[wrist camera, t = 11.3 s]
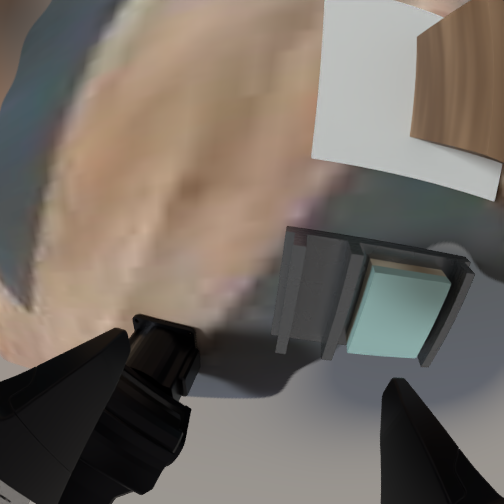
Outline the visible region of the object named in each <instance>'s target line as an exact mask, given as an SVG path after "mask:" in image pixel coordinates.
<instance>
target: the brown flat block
mask: <svg viewBox="0 0 504 504" xmlns="http://www.w3.org/2000/svg"><path fill="white" fill-rule="evenodd" d="M410 137H413V138H416V139H420V140H423V141H427V142H430V143H434V144H437V145H441V146H445V147H449V148H453V149H456V150H460V151H464V152H467V153H471V154H474V155H477V156H480V157H484V158H487V159H490V160H493V161H496V162H499V163H502V164H504V1H503V0H471V1H469V2H467V3H466V4H464V5H463V6H461V7H460V8H458V9H456V10H455V11H453V12H452V13H450V14H449V15H447V16H446V17H444V18H443V19H441V20H440V21H438V22H437V23H436V24H434V25H433V26H431V27H430V28H428V29H427V30H426V31H424V32H423V33H421V34H420V35H419V36H417V54H416V77H415V91H414V102H413V112H412V121H411V129H410Z"/></svg>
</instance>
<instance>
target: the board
mask: <svg viewBox="0 0 504 504" xmlns="http://www.w3.org/2000/svg"><path fill="white" fill-rule="evenodd" d="M443 18H444V17H441V16H439V15H436V14H434V13H431V12H428V11H425V10H423V9H420V8H417V7H414V6H411V5H408V4H404V3H401V2H398V1H394V0H324V21H323V37H322V52H321V65H320V77H319V88H318V99H317V109H316V119H315V128H314V137H313V146H312V154H311V158H313V159H319V160H326V161H332V162H338V163H344V164H349V165H355V166H360V167H365V168H370V169H375V170H380V171H385V172H389V173H394V174H398V175H402V176H407V177H411V178H415V179H419V180H423V181H427V182H431V183H434V184H438V185H442V186H445V187H449V188H452V189H456V190H459V191H463V192H466V193H469V194H472V195H476V196H479V197H482V198H485V199H488V200H491V201H495V197H496V193H497V188H498V183H499V179H500V174H501V168H502V163H499V162H496V161H493V160H490V159H487V158H484V157H480V156H477V155H474V154H471V153H467V152H464V151H460V150H456V149H453V148H449V147H445V146H441V145H437V144H434V143H430V142H427V141H423V140H420V139H416V138H413V137H410V129H411V121H412V112H413V102H414V91H415V77H416V54H417V36H419V35H420V34H421V33H423V32H424V31H426V30H427V29H428V28H430V27H431V26H433V25H434V24H436V23H437V22H438V21H440V20H441V19H443Z"/></svg>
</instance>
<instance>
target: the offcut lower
mask: <svg viewBox="0 0 504 504" xmlns="http://www.w3.org/2000/svg"><path fill="white" fill-rule="evenodd" d="M372 265H375V266H382V267H388V268H394V269H401V270H407V271H414V272H420V273H426V274H432V275H439V276H445V277H446V275H445V274H444V273H443V271H442V270H438V269H432V268H426V267H420V266H414V265H408V264H402V263H396V262H390V261H383V260H377V259H371V258H370V259H369V263H368V267H367V270H366V274H365V277H364V281H363V284H362V287H361V291H360V294H359V297H358V300H357V304H356V307H355V310H354V313H353V316H352V319H351V322H350V325H349V328H348V331H347V333H346V344H347V341H348V339H349V336H350V333H351V330H352V328H353V325H354V322H355V319H356V316H357V313H358V310H359V307H360V304H361V301H362V298H363V295H364V291H365V288H366V285H367V282H368V278H369V275H370V271H371V268H372Z"/></svg>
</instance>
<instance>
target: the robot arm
mask: <svg viewBox="0 0 504 504" xmlns="http://www.w3.org/2000/svg"><path fill="white" fill-rule="evenodd" d="M133 324H134V329H135V331H134V333H133V334H132V335H131V337H130V338H128V334H127V332H126V330H123V329H120V328H113V329H111V330H109V331H107V332H105V333H103V334H101V335H99V336H97V337H95V338H93V339H91V340H89V341H87V342H85V343H83V344H81V345H79V346H77V347H75V348H73V349H71V350H69V351H67V352H65V353H62V354H60V355H58V356H56V357H54V358H52V359H50V360H48V361H46V362H44V363H42V364H40V365H38V366H37V367H34V368H32V369H30V370H28V371H26V372H23V373H21V374H19V375H16V376H14V377H11V378H9V379H6V380H4V381H1V382H0V504H28V503H29V502H30V500H31V501H32V502H34V503H36V504H112V503H113V501H114V500H115V499H116V498H117V497H120V496H123V495H125V494H128V493H131V492H133V491H134V492H136V493H138V494H139V495H143V494H145V493H146V492H148V491H150V490H152V489H153V487H154V485H155V483H156V481H157V480H158V478H159V476H160V474H161V472H162V471H163V469H164V468H165V467H166V466H169V465H170V464H172V463H173V461H174V460H175V459H176V458H177V457H178V455H179V454H180V452H181V450H182V448H183V446H184V443H185V440H186V434H187V428H188V423H189V418H190V413H191V408H189V407H188V406H184V405H183V404H181V403H180V402H179V399H180V397H181V396H187V395H188V393H189V391H190V389H191V386H192V384H193V382H194V380H195V377H196V375H197V373H198V370H199V368H200V356H199V350H198V348H197V346H196V332H195V330H194V329H192V328H189V327H185V326H181V325H177V324H172V323H168V322H164V321H160V320H156V319H152V318H149V317H145V316H141V315H135V316H134V317H133ZM190 333H191V334H190ZM458 448H459V447H458V446H457V445H456V443H455V442H454V441H453V439H452V438H451V437H450V435H449V434H448V433H447V431H446V430H445V429H444V427H443V426H442V425H441V424H440V422H439V421H438V420H437V419H436V417H435V416H434V415H433V414H432V412H431V411H430V410H429V408H428V407H427V406H426V405H425V403H424V402H423V401H422V400H421V398H420V397H419V396H418V395H417V393H416V392H415V391H414V389H413V388H412V387H411V386H410V385H409V383H408V382H407V381H406V380H405V379H404V378H392V379H391V381H390V382H389V384H388V386H387V387H386V389H385V391H384V392H383V396H382V409H381V430H380V449H381V450H380V451H381V504H504V498H503V497H502V496H500V495H499V494H498V493H497V492H496V491H495V490H494V489H493V488H492V487H491V486H490V484H489V483H488V482H487V481H486V480H485V479H484V478H483V477H482V476H481V475H480V473H479V472H478V471H477V470H476V469H475V468H474V466H473V465H472V464H471V463H470V461H469V460H468V459H467V458H466V456H465V455H464V454H463V452H462V451H461V450H460V449H458Z"/></svg>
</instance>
